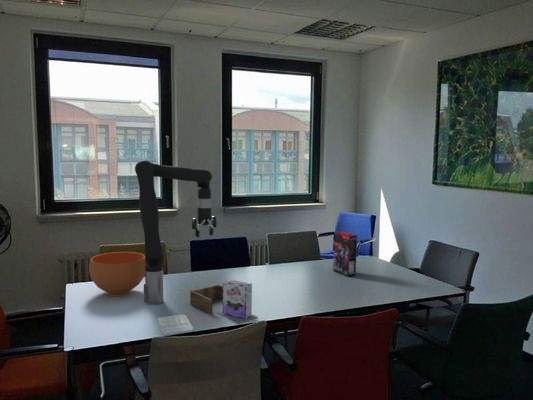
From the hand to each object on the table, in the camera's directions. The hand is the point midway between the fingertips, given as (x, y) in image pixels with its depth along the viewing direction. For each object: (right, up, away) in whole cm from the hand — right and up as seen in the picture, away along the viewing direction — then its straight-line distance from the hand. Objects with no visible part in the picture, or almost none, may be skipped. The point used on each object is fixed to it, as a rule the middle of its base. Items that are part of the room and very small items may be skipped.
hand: (204, 236), depth 244 cm
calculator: (-8, -39, -37) cm, 55 cm away
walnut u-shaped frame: (+7, -35, -10) cm, 37 cm away
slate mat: (+20, -37, -24) cm, 48 cm away
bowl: (-49, -33, +8) cm, 60 cm away
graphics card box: (+86, -30, +56) cm, 107 cm away
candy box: (+19, -37, -24) cm, 48 cm away
